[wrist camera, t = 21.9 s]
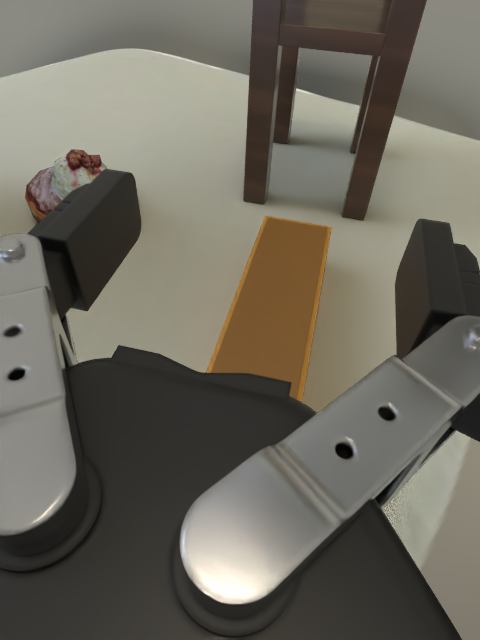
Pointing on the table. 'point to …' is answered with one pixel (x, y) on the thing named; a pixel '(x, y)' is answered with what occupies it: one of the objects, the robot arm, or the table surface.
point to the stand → (331, 35)
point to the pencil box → (276, 305)
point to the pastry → (61, 181)
